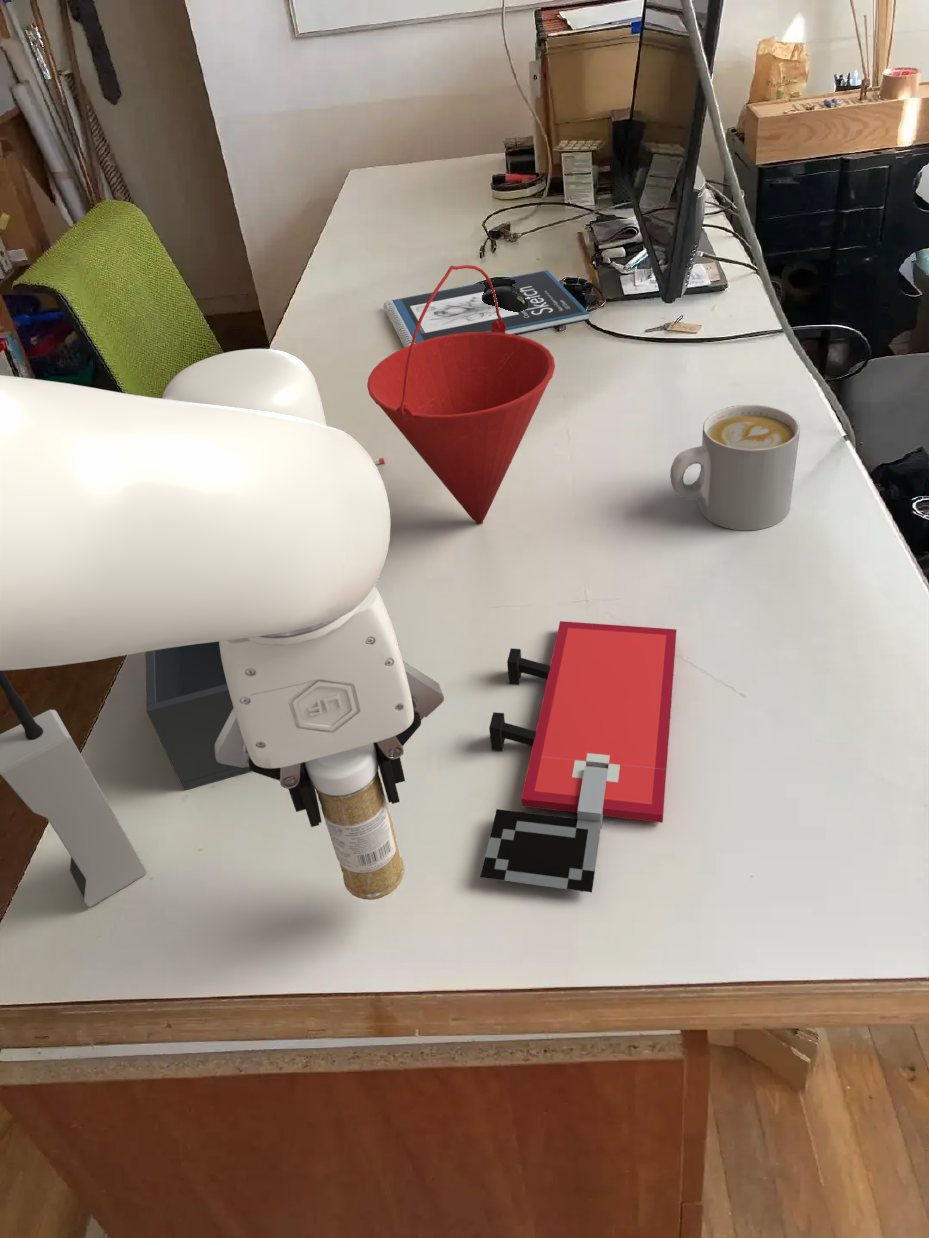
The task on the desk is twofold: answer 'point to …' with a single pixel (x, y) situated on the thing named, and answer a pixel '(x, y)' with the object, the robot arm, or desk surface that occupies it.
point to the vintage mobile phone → (67, 800)
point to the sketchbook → (485, 310)
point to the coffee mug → (742, 467)
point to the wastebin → (190, 710)
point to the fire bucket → (464, 402)
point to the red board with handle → (585, 750)
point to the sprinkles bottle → (358, 820)
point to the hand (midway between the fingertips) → (351, 797)
